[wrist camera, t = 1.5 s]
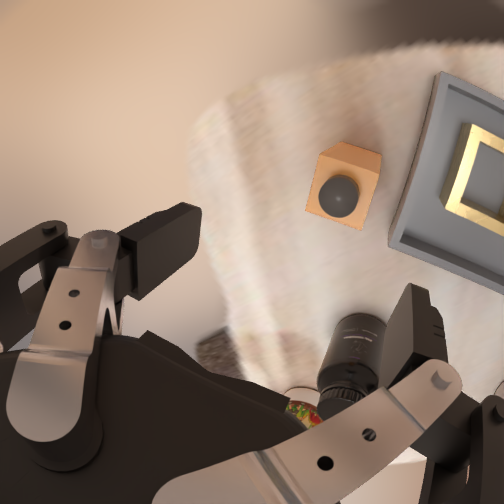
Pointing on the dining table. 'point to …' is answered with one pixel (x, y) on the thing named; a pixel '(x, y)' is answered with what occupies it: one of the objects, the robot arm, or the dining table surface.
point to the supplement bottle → (350, 364)
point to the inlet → (460, 174)
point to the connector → (344, 184)
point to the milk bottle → (304, 405)
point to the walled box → (476, 190)
